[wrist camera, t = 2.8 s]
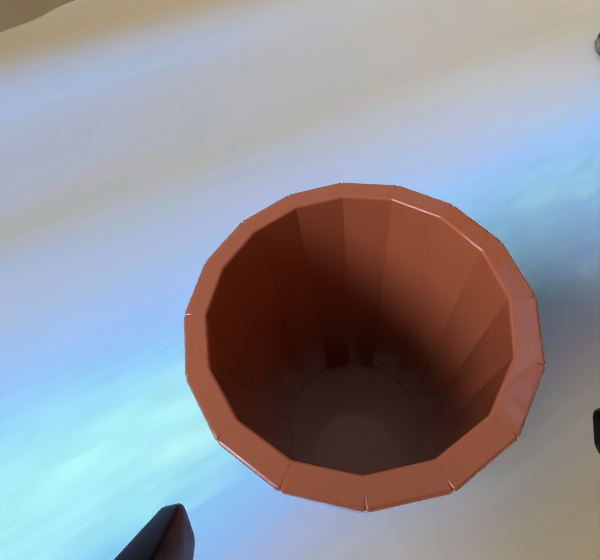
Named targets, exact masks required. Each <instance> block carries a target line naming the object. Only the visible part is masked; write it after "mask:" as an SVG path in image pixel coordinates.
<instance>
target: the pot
mask: <svg viewBox="0 0 600 560" xmlns="http://www.w3.org/2000/svg"><path fill="white" fill-rule="evenodd" d="M534 297H535V295H534V293H533V291H532V289H531V288H530V286H529V285H528V283H527V282H526V280H525V278H524V277H523V275H522V274H521V272H520V270H519V269H518V267H517V266H516V264H515V262H514V261H513V259H512V258H511V256H510V254H509V253H508V251H507V250H506V248H505V246H504V245H503V244H502V243H500V240H499V239H497V238H496V237H495V236H493V235H492V234H491V233H489V232H488V231H487V230H485V229H484V228H483V227H481V226H480V225H479V224H477V223H476V222H475V221H474V220H472V219H471V218H470V217H468V216H467V215H466V214H464V213H463V212H462V211H460V210H459V209H458V208H456V207H455V206H452V204H450V203H447V202H444V201H441V200H438V199H435V198H432V197H430V196H427V195H424V194H421V193H418V192H415V191H412V190H410V189H407V188H404V187H401V186H398V187H397V186H395V185H377V184H357V183H343V184H342V183H338V184H333V185H329V186H325V187H321V188H316V189H312V190H308V191H303V192H299V193H295V194H291V195H289V196H286V197H284V198H283V199H281V200H279V201H277V202H276V203H274V204H272V205H270V206H269V207H267V208H265V209H263V210H262V211H260V212H258V213H256V214H255V215H253V216H251V217H249V218H248V219H246V220H244V221H243V223H240V224H239V226H238V227H237V228H236V229H235V230H234V231H233V232H232V233H231V234H230V235H229V237H228V238H227V239H226V240H225V241H224V242H223V243H222V244H221V245H220V247H219V248H218V249H217V250H216V251H215V252H214V253H213V254H212V255H211V256H210V258H209V259H208V260H207V261H206V263H205V264H204V267H203V269H202V272H201V274H200V277H199V279H198V282H197V284H196V287H195V289H194V292H193V294H192V297H191V299H190V302H189V304H188V307H187V309H186V312H185V317H184V336H185V376H186V379H187V383H188V385H189V387H190V389H191V391H192V393H193V395H194V397H195V399H196V401H197V403H198V406H199V408H200V410H201V412H202V414H203V416H204V418H205V420H206V422H207V424H208V426H209V428H210V430H211V432H212V434H213V436H214V438H215V439H216V440H217V441H218V443H219V445H221V446H222V447H223V448H224V449H226V450H227V451H228V452H229V453H231V454H232V455H233V456H234V457H235V458H237V459H238V460H239V461H240V462H242V463H243V464H244V465H245V466H247V467H248V468H249V469H250V470H252V471H253V472H254V473H255V474H257V475H258V476H259V477H260V478H262V479H263V480H264V481H265V482H267V483H268V484H269V485H270V486H272V487H273V488H274V489H275V490H277V491H281V492H282V493H283V494H287V495H290V496H294V497H298V498H301V499H305V500H309V501H313V502H316V503H320V504H324V505H327V506H331V507H336V508H340V509H344V510H348V511H352V512H357V513H366V512H373V511H378V510H382V509H386V508H391V507H395V506H400V505H404V504H408V503H413V502H417V501H422V500H426V499H430V498H435V497H439V496H444V495H448V494H451V493H452V492H453V491H457V490H459V489H460V488H461V487H462V486H463V485H464V484H466V483H467V482H468V481H469V480H470V479H471V478H473V477H474V476H475V475H476V474H477V473H478V472H480V471H481V470H482V469H483V468H484V467H485V466H487V465H488V464H489V463H490V462H491V461H492V460H494V459H495V458H496V457H497V456H498V455H499V454H501V453H502V452H503V451H504V450H505V449H507V448H508V447H509V446H510V445H511V444H512V443H514V442H515V441H516V439H517V437H518V436H519V435H520V434H521V431H522V428H523V426H524V423H525V420H526V417H527V415H528V412H529V409H530V407H531V404H532V401H533V399H534V396H535V393H536V391H537V388H538V385H539V383H540V380H541V377H542V375H543V372H544V364H545V361H544V353H543V345H542V338H541V330H540V323H539V315H538V308H537V300H536V298H534Z"/></svg>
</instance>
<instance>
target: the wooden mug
mask: <svg viewBox="0 0 600 560" xmlns="http://www.w3.org/2000/svg"><path fill="white" fill-rule="evenodd" d="M595 48H596V51H597V52H598V53H599V54H600V33H599V35H598V37H597V39H596V41H595Z"/></svg>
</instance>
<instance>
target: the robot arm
mask: <svg viewBox="0 0 600 560" xmlns="http://www.w3.org/2000/svg"><path fill="white" fill-rule="evenodd" d="M593 428H594V443H595V446H596V448H597V451H598V452H599V454H600V408H599V409H596V410H595V411H594V413H593ZM194 546H195V540H194V533H193V530H192V527H191V524H190V522H189V519H188V516H187V513H186V510H185V508H184V506H183V505H182V504H180V503H178V504H173V505H169V506H165V507H163V508H161V509H160V510H159V511H158V512H157V513H156V515H155V516H154V517H153V518H152V519H151V520H150V521H149V522H148V523H147V524H146V525H145V527H144V528H143V529H142V530H141V531H140V532H139V533H138V534H137V535H136V536H135V537H134V538H133V540H132V541H131V542H130V543H129V544H128V545H127V546H126V547H125V548H124V549H123V550H122V551H121V553H120V554H119V555H118V556H117V557H116V558H115V559H114V560H193V555H194Z"/></svg>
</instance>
